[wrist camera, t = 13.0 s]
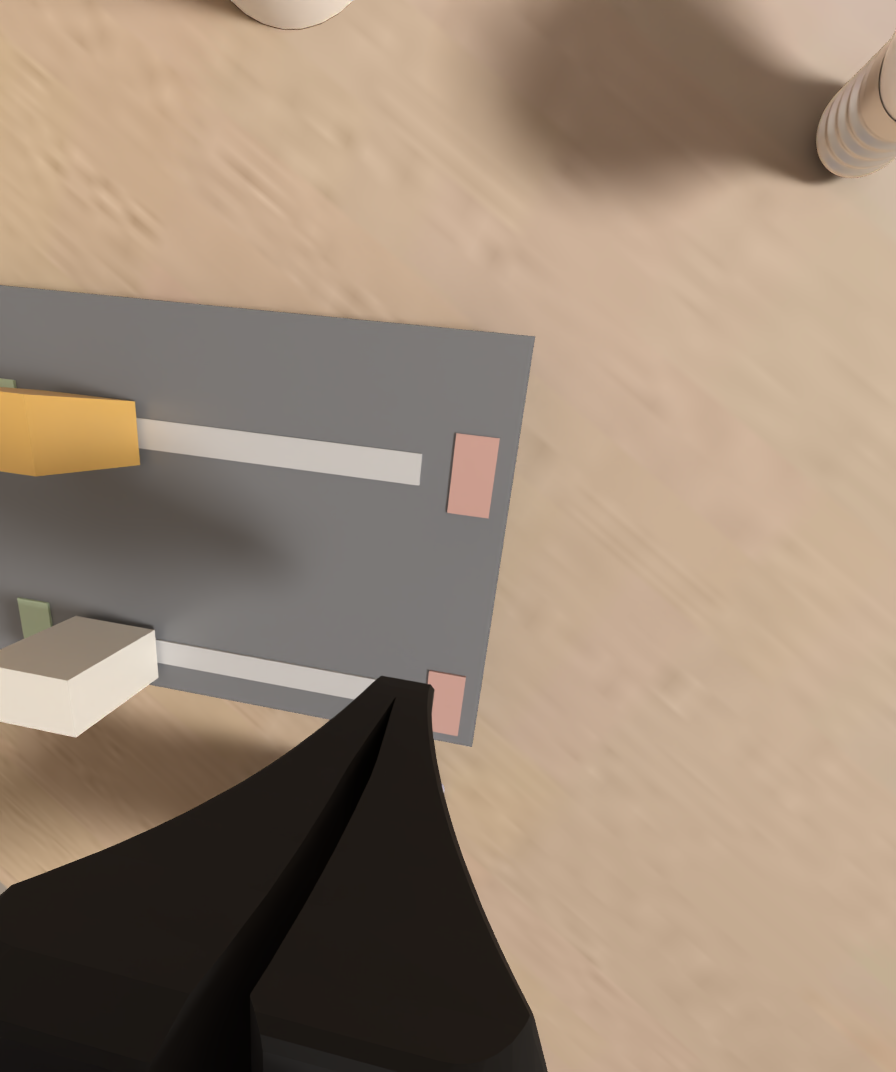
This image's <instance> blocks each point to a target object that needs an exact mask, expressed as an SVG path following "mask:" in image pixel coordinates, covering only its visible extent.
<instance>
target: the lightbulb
mask: <svg viewBox="0 0 896 1072" xmlns="http://www.w3.org/2000/svg"><path fill="white" fill-rule="evenodd" d="M816 147H817V152H818V155H819V158H820V160H821V162H822V163H823V165H824V166H825V167H826V168H827V169H828V170H829V171H830V172H832V173H833V174H835V175H838V176H841V177H845V178H858V177H863V176H867V175H869V174H872V173H874V172H876V171H878V170H880V169H882V168H883V167H885V166H886V165H888V164H889V163H890V162H892V161H893V160H894V159H896V30H895V32H894V34H893V36H892V38H891V39H890V40H889V41H888V42H887V43H886V44H885V45H884V46H883V47H882V48H881V49H880V50H879V51H878V53H876V54H875V55H874V56H873V57H872V58H871V59H870V60H869V61H868V62H867V63H866V64H865V65H864V66H863V67H862V68H861V69H860V70H859V71H858V72H857V73H856V74H855V75H854V77H852V78H851V79H850V80H849V81H848V82H847V83H846V84H845V85H844V86H843V88H842V89H841V90H839V91H838V92H837V93H836V95H835V96H834V97H833V98H832V99H831V101H830V102H829V103H828V105H827V106H826V108H825V110H824V112H823V114H822V116H821V118H820V121H819V124H818V128H817V134H816Z"/></svg>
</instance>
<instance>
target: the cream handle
mask: <svg viewBox="0 0 896 1072" xmlns="http://www.w3.org/2000/svg"><path fill="white" fill-rule="evenodd" d="M157 678H159V677H158V665H157V653H156V640H155V630H152V629H146V628H141V627H135V626H130V625H124V624H118V623H113V622H107V621H102V620H96V619H91V618H85V617H79V616H74V617H72V618H70V619H68V620H65V621H63V622H61V623H59V624H56V625H54V626H52V627H50V628H47V629H45V630H43V631H41V632H38V633H36V634H34V635H32V636H29V637H27V638H25V639H23V640H20V641H18V642H16V643H14V644H11V645H9V646H7V647H5V648H2V649H0V722H4V723H9V724H14V725H19V726H23V727H28V728H33V729H38V730H42V731H47V732H52V733H57V734H61V735H66V736H71V737H77V736H79V735H80V734H82V733H83V732H84V731H86V730H87V729H88V728H90V727H91V726H93V725H94V724H95V723H97V722H98V721H99V720H101V719H102V718H104V717H105V716H106V715H108V714H109V713H110V712H112V711H113V710H115V709H116V708H117V707H119V706H120V705H121V704H123V703H124V702H126V701H127V700H128V699H130V698H131V697H132V696H134V695H135V694H137V693H138V692H139V691H141V690H142V689H143V688H145V687H146V686H148V685H149V684H150V683H152V682H153V681H155V680H156V679H157Z"/></svg>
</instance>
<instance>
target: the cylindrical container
mask: <svg viewBox="0 0 896 1072" xmlns="http://www.w3.org/2000/svg"><path fill="white" fill-rule="evenodd" d="M231 1H232V2H233V3H234V4H235V5H236V6H237V7H239V8H240V9H241V10H242V11H243V12H244V13H245V14H247V15H249V16H250V17H252V18H254V19H256V20H257V21H259V22H261V23H263V24H266V25H270V26H273V27H277V28H281V29H303V28H306V27H310V26H313V25H317V24H320V23H323V22H324V21H326V20H328V19H330V18H331V17H333V16H335V15H336V14H338V13H340V12H341V11H342V10H343V9H344V8H345V7H346V6H347V5H349V4H350V3H351V2H352V1H353V0H231Z"/></svg>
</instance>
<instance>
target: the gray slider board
mask: <svg viewBox="0 0 896 1072" xmlns="http://www.w3.org/2000/svg"><path fill="white" fill-rule="evenodd" d="M534 340H535V336H525V335H514V334H504V333H494V332H483V331H473V330H462V329H452V328H441V327H431V326H420V325H410V324H400V323H389V322H379V321H368V320H358V319H347V318H337V317H326V316H316V315H306V314H295V313H285V312H274V311H264V310H253V309H243V308H232V307H222V306H212V305H201V304H191V303H180V302H170V301H159V300H149V299H139V298H128V297H118V296H107V295H97V294H86V293H76V292H65V291H55V290H45V289H34V288H24V287H13V286H3V285H0V387H7V388H20V389H33V390H46V391H54V392H62V393H70V394H79V395H87V396H95V397H103V398H111V399H120V400H128V401H135V408H136V420H137V432H138V445H139V457H140V465H136V466H127V467H118V468H109V469H100V470H91V471H82V472H73V473H64V474H54V475H45V476H29V475H22V474H15V473H8V472H1V471H0V649H2V648H5V647H7V646H9V645H11V644H14V643H16V642H18V641H20V640H23V639H25V638H27V637H29V636H32V635H34V634H36V633H38V632H41V631H43V630H45V629H47V628H50V627H52V626H54V625H56V624H59V623H61V622H63V621H65V620H68V619H70V618H72V617H74V616H79V617H85V618H91V619H96V620H102V621H107V622H113V623H118V624H124V625H130V626H135V627H141V628H146V629H152V630H155V640H156V653H157V665H158V677H159V678H157V679H156V680H155V681H153V682H152V683H150V684H149V685H154V686H159V687H165V688H170V689H175V690H180V691H185V692H190V693H196V694H201V695H206V696H211V697H216V698H221V699H227V700H232V701H237V702H242V703H247V704H252V705H258V706H263V707H268V708H273V709H278V710H284V711H289V712H294V713H299V714H304V715H309V716H315V717H320V718H325V719H330V720H331V719H332V718H333V717H334V716H336V715H337V714H338V713H339V712H340V711H342V710H343V709H344V708H345V707H346V706H347V705H349V704H350V703H351V702H352V701H353V700H354V699H355V698H356V697H358V696H359V695H360V694H361V693H362V692H363V691H364V690H365V689H366V688H367V687H368V686H370V685H371V684H372V683H373V682H374V681H375V680H376V679H377V678H379V677H380V676H387V677H393V678H398V679H404V680H409V681H415V682H420V683H426V684H431V685H432V687H433V688H434V689H435V691H434V699H433V707H432V729H433V738H434V740H439V741H444V742H449V743H454V744H459V745H465V746H470V747H472V743H473V737H474V730H475V724H476V717H477V711H478V704H479V698H480V691H481V685H482V678H483V672H484V665H485V659H486V652H487V646H488V639H489V633H490V626H491V620H492V613H493V607H494V600H495V594H496V587H497V581H498V574H499V568H500V561H501V555H502V548H503V542H504V535H505V529H506V522H507V516H508V509H509V503H510V496H511V490H512V483H513V477H514V470H515V464H516V457H517V451H518V444H519V438H520V431H521V425H522V418H523V412H524V405H525V399H526V392H527V386H528V379H529V373H530V366H531V360H532V353H533V347H534Z"/></svg>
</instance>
